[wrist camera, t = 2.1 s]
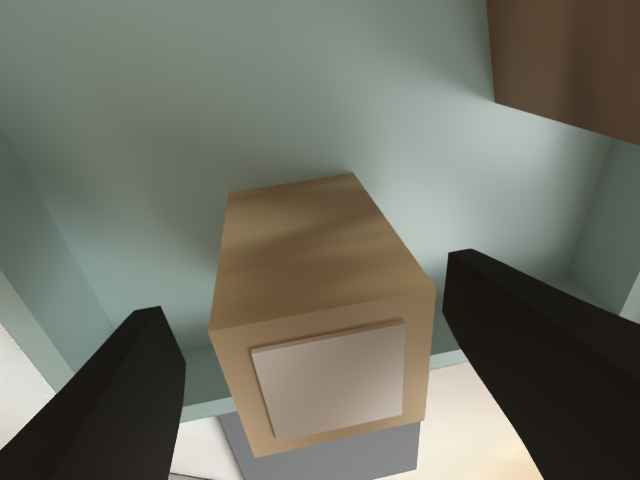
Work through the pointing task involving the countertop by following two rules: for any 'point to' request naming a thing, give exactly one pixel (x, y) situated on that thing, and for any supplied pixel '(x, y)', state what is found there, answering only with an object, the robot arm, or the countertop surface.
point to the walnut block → (569, 62)
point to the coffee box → (181, 477)
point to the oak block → (319, 315)
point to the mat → (329, 455)
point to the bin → (274, 161)
